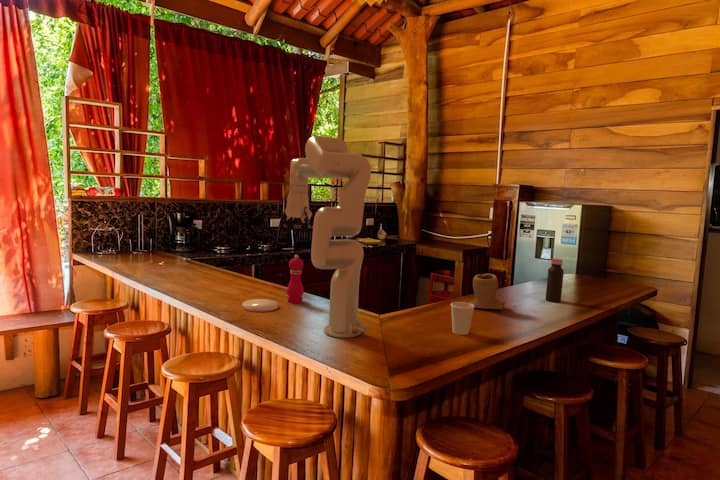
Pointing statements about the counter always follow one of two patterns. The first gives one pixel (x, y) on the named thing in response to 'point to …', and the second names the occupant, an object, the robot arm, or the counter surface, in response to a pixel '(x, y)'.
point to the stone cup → (486, 292)
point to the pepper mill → (295, 281)
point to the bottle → (555, 281)
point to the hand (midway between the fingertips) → (297, 231)
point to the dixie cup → (461, 317)
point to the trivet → (260, 305)
